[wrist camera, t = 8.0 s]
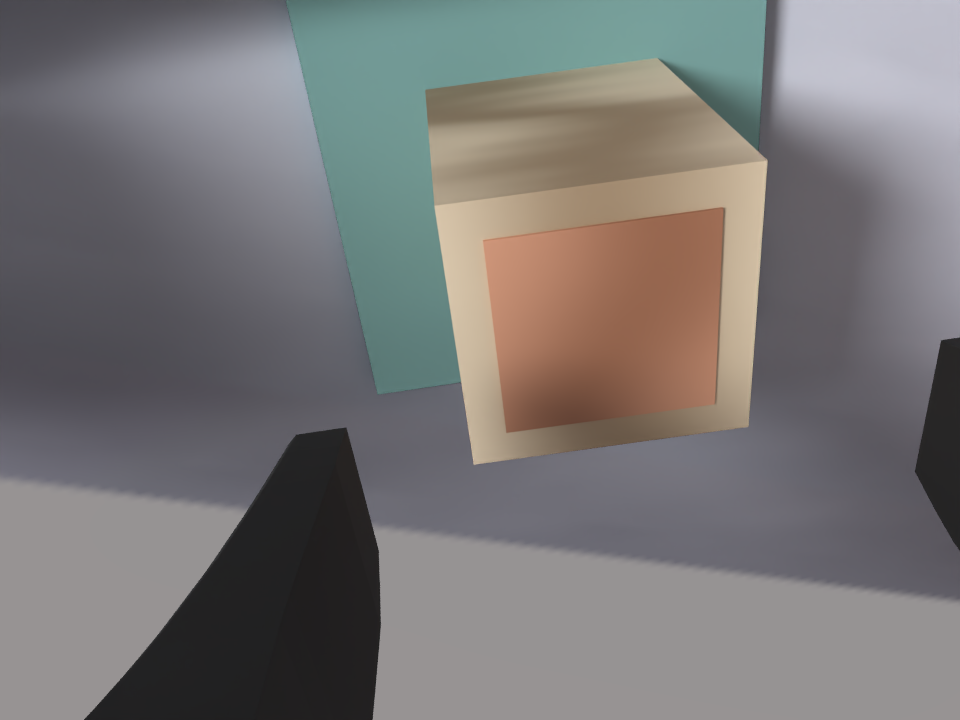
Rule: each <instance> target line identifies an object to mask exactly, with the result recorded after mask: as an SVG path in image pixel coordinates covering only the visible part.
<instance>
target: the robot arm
mask: <svg viewBox="0 0 960 720" xmlns="http://www.w3.org/2000/svg"><path fill="white" fill-rule="evenodd" d="M915 472H916V474H917V476H918V478H919V480H920V482H921V484H922V486H923V488H924V489H925V491H926V493H927V495H928V497H929V499H930V501H931V503H932V505H933V507H934V509H935V510H936V512H937V514H938V516H939V517H940V519H941V521H942V523H943V524H944V526H945V528H946V529H947V531H948V533H949V535H950V536H951V538H952V540H953V542H954V543H955V544H956V546H957V547H958V549H959V550H960V338H954V339H947V340H941V344H940V349H939V354H938V359H937V364H936V369H935V374H934V379H933V384H932V389H931V394H930V399H929V404H928V409H927V414H926V419H925V424H924V429H923V434H922V439H921V444H920V449H919V454H918V459H917V464H916V469H915ZM380 619H381V617H380V580H379V550H378V546H377V543H376V538H375V535H374V531H373V527H372V523H371V519H370V516H369V512H368V508H367V504H366V501H365V497H364V493H363V489H362V485H361V482H360V478H359V474H358V470H357V466H356V463H355V459H354V455H353V451H352V447H351V444H350V440H349V436H348V432H347V428H340V429H333V430H326V431H319V432H312V433H306V434H299V435H296V436H295V437H294V438H293V440H292V441H291V442H290V443H289V445H288V447H287V448H286V450H285V451H284V453H283V455H282V456H281V458H280V459H279V461H278V463H277V464H276V466H275V467H274V469H273V471H272V472H271V474H270V476H269V477H268V479H267V480H266V482H265V484H264V485H263V487H262V488H261V490H260V492H259V493H258V495H257V496H256V498H255V499H254V501H253V503H252V504H251V506H250V507H249V509H248V510H247V512H246V513H245V515H244V517H243V518H242V520H241V521H240V522H239V524H238V525H237V527H236V529H235V530H234V531H233V533H232V534H231V536H230V537H229V539H228V540H227V542H226V543H225V545H224V546H223V548H222V549H221V551H220V552H219V554H218V555H217V556H216V558H215V559H214V561H213V562H212V564H211V565H210V567H209V568H208V569H207V571H206V572H205V573H204V575H203V576H202V578H201V579H200V580H199V582H198V583H197V584H196V585H195V587H194V588H193V589H192V591H191V592H190V593H189V595H188V596H187V597H186V599H185V600H184V602H183V603H182V604H181V605H180V607H179V608H178V610H177V611H176V612H175V613H174V615H173V616H172V617H171V619H170V620H169V621H168V623H167V624H166V625H165V626H164V628H163V629H162V630H161V632H160V633H159V634H158V635H157V637H156V638H155V639H154V640H153V642H152V643H151V644H150V645H149V646H148V648H147V649H146V650H145V651H144V652H143V654H142V655H141V656H140V657H139V659H138V660H137V661H136V662H135V663H134V664H133V665H132V667H131V668H130V669H129V670H128V671H127V673H126V674H125V675H124V676H123V677H122V678H121V679H120V681H119V682H118V683H117V684H116V685H115V686H114V687H113V689H112V690H111V691H110V692H109V693H108V694H107V695H106V696H105V697H104V699H103V700H102V701H101V702H100V703H99V704H98V705H97V706H96V708H95V709H94V710H93V711H92V712H91V713H90V714H89V715H88V716H87V717H86V718H85V719H84V720H372V719H373V708H374V697H375V686H376V675H377V662H378V652H379V640H380V628H381V620H380Z"/></svg>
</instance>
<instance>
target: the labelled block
mask: <svg viewBox="0 0 960 720" xmlns="http://www.w3.org/2000/svg"><path fill="white" fill-rule="evenodd" d="M425 94H426V107H427V119H428V132H429V145H430V157H431V170H432V182H433V195H434V207H435V213H436V220H437V226H438V233H439V240H440V246H441V253H442V259H443V266H444V272H445V279H446V285H447V292H448V298H449V305H450V312H451V318H452V325H453V331H454V338H455V344H456V351H457V357H458V364H459V371H460V377H461V384H462V390H463V397H464V403H465V410H466V416H467V423H468V430H469V436H470V443H471V449H472V456H473V462H474V465H475V464H482V463H490V462H497V461H504V460H511V459H519V458H526V457H533V456H540V455H548V454H555V453H562V452H569V451H577V450H584V449H591V448H598V447H606V446H613V445H620V444H627V443H635V442H642V441H649V440H656V439H664V438H671V437H678V436H686V435H693V434H700V433H707V432H715V431H722V430H729V429H736V428H744V427H748V426H749V412H750V398H751V384H752V370H753V356H754V342H755V328H756V314H757V300H758V287H759V273H760V259H761V245H762V231H763V217H764V203H765V189H766V175H767V161H768V160H767V159H766V158H765V157H763V156H762V155H761V154H760V153H759V152H758V151H757V150H756V149H755V148H754V147H753V146H752V145H751V144H749V143H748V142H747V141H746V140H745V139H744V138H743V137H742V136H741V135H740V134H739V133H738V132H737V131H735V130H734V129H733V128H732V127H731V126H730V125H729V124H728V123H727V122H726V121H725V120H724V119H722V118H721V117H720V116H719V115H718V114H717V113H716V112H715V111H714V110H713V109H712V108H711V107H710V106H708V105H707V104H706V103H705V102H704V101H703V100H702V99H701V98H700V97H699V96H698V95H697V94H696V93H694V92H693V91H692V90H691V89H690V88H689V87H688V86H687V85H686V84H685V83H684V82H683V81H682V80H680V79H679V78H678V77H677V76H676V75H675V74H674V73H673V72H672V71H671V70H670V69H669V68H667V67H666V66H665V65H664V64H663V63H662V62H661V61H660V60H659V59H658V58H654V59H646V60H639V61H632V62H624V63H617V64H610V65H602V66H595V67H588V68H580V69H573V70H566V71H558V72H551V73H544V74H536V75H529V76H522V77H514V78H507V79H500V80H493V81H485V82H478V83H471V84H463V85H456V86H449V87H441V88H434V89H427V90H425Z"/></svg>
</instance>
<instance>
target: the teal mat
mask: <svg viewBox="0 0 960 720" xmlns="http://www.w3.org/2000/svg"><path fill="white" fill-rule="evenodd" d="M766 3H767V0H286V4H287V8H288V13H289V17H290V21H291V26H292V30H293V34H294V38H295V43H296V47H297V51H298V56H299V60H300V64H301V68H302V73H303V77H304V81H305V86H306V90H307V94H308V98H309V103H310V107H311V111H312V116H313V120H314V124H315V128H316V133H317V137H318V141H319V145H320V150H321V154H322V158H323V163H324V167H325V171H326V175H327V180H328V184H329V188H330V193H331V197H332V201H333V205H334V210H335V214H336V218H337V223H338V227H339V231H340V235H341V240H342V244H343V248H344V253H345V257H346V261H347V265H348V270H349V274H350V278H351V283H352V287H353V291H354V295H355V300H356V304H357V308H358V313H359V317H360V321H361V325H362V330H363V334H364V338H365V343H366V347H367V351H368V355H369V360H370V364H371V368H372V373H373V377H374V381H375V385H376V390H377V394H378V395H379V394H385V393H392V392H399V391H406V390H413V389H419V388H426V387H433V386H440V385H447V384H453V383H460V382H461V377H460V371H459V364H458V357H457V351H456V344H455V338H454V331H453V325H452V318H451V312H450V305H449V298H448V292H447V285H446V279H445V272H444V266H443V259H442V253H441V246H440V240H439V233H438V226H437V220H436V213H435V207H434V195H433V182H432V170H431V157H430V145H429V132H428V119H427V107H426V94H425V90H427V89H434V88H441V87H449V86H456V85H463V84H471V83H478V82H485V81H493V80H500V79H507V78H514V77H522V76H529V75H536V74H544V73H551V72H558V71H566V70H573V69H580V68H588V67H595V66H602V65H610V64H617V63H624V62H632V61H639V60H646V59H654V58H658V59H659V60H660V61H661V62H662V63H663V64H664V65H665V66H666V67H667V68H669V69H670V70H671V71H672V72H673V73H674V74H675V75H676V76H677V77H678V78H679V79H680V80H682V81H683V82H684V83H685V84H686V85H687V86H688V87H689V88H690V89H691V90H692V91H693V92H694V93H696V94H697V95H698V96H699V97H700V98H701V99H702V100H703V101H704V102H705V103H706V104H707V105H708V106H710V107H711V108H712V109H713V110H714V111H715V112H716V113H717V114H718V115H719V116H720V117H721V118H722V119H724V120H725V121H726V122H727V123H728V124H729V125H730V126H731V127H732V128H733V129H734V130H735V131H737V132H738V133H739V134H740V135H741V136H742V137H743V138H744V139H745V140H746V141H747V142H748V143H749V144H751V145H752V146H753V147H754V148H755V149H756V150H757V151H758V150H759V132H760V113H761V95H762V77H763V58H764V40H765V21H766Z"/></svg>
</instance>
